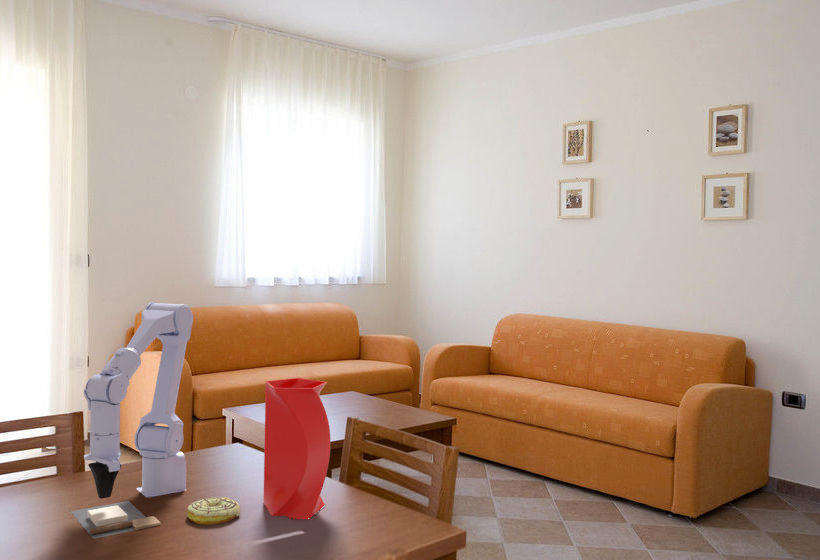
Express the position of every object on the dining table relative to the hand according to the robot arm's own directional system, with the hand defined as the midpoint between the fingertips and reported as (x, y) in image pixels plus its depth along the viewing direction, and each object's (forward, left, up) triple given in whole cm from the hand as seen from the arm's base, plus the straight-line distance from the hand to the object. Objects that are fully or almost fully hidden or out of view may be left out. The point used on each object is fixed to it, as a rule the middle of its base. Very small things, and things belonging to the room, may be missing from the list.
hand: (104, 497), depth 154 cm
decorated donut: (-19, +12, -5) cm, 23 cm away
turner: (-2, +9, -4) cm, 10 cm away
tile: (0, -1, -3) cm, 3 cm away
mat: (-1, +2, -5) cm, 5 cm away
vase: (-35, +16, -5) cm, 39 cm away
